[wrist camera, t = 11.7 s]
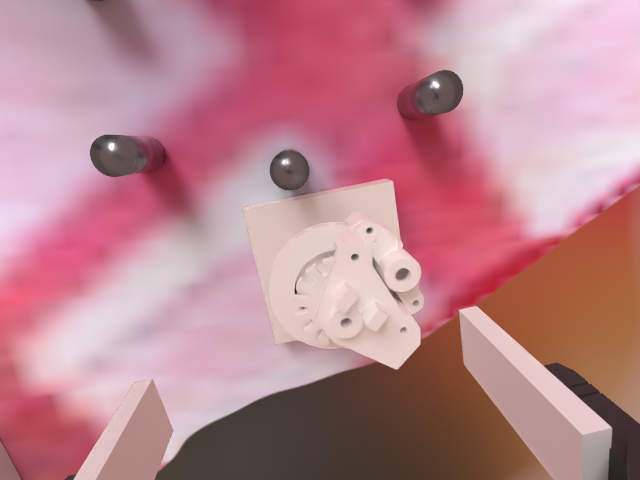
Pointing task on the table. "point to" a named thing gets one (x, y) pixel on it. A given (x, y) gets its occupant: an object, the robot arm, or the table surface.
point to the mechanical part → (349, 289)
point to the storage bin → (7, 466)
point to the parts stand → (306, 211)
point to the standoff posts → (289, 165)
